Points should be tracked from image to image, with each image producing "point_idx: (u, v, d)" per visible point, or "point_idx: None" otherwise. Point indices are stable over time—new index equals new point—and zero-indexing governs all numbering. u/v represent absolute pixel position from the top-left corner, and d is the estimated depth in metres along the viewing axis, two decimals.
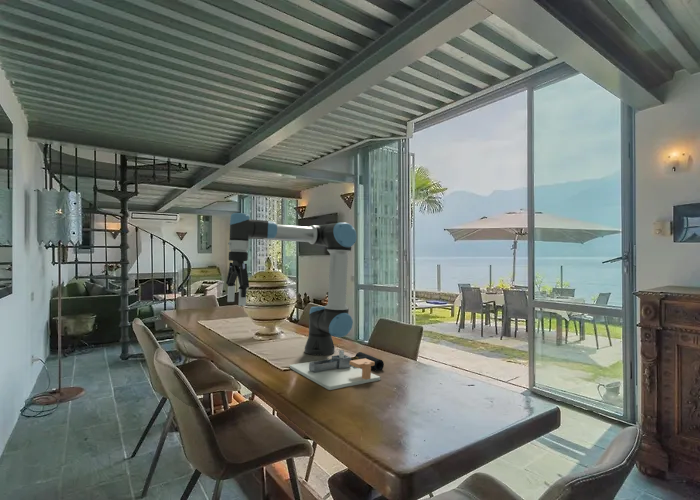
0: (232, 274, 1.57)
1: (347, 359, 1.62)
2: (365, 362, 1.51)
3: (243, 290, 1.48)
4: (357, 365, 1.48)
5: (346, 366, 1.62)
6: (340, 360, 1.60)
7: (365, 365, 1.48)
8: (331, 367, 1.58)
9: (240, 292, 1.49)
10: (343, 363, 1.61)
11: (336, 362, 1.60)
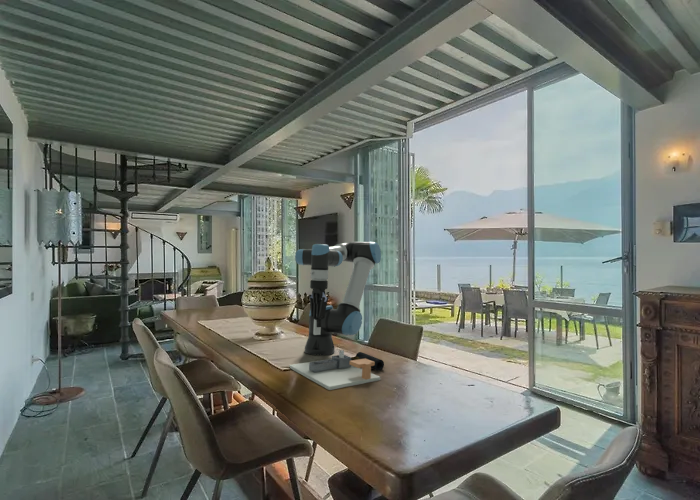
0: (315, 302, 1.66)
1: (347, 359, 1.62)
2: (365, 362, 1.51)
3: (319, 321, 1.64)
4: (357, 365, 1.48)
5: (346, 366, 1.62)
6: (340, 360, 1.60)
7: (365, 365, 1.48)
8: (331, 367, 1.58)
9: (316, 322, 1.64)
10: (343, 363, 1.61)
11: (336, 362, 1.60)
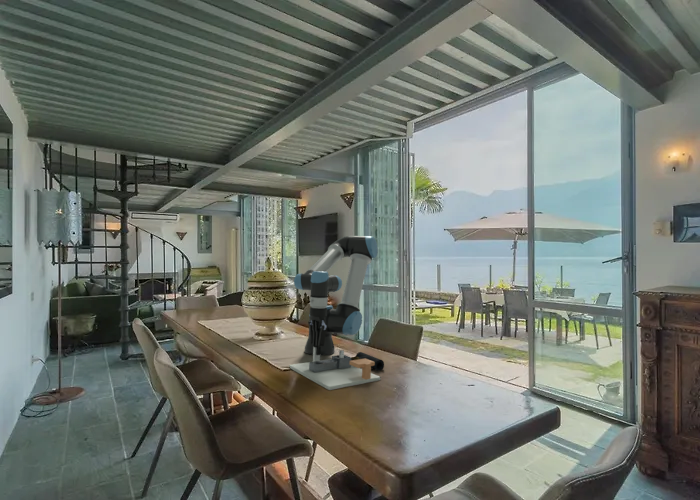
0: (315, 330, 1.65)
1: (347, 359, 1.62)
2: (365, 362, 1.51)
3: (318, 348, 1.63)
4: (357, 365, 1.48)
5: (346, 366, 1.62)
6: (340, 360, 1.60)
7: (365, 365, 1.48)
8: (331, 367, 1.58)
9: (315, 350, 1.64)
10: (343, 363, 1.61)
11: (336, 362, 1.60)
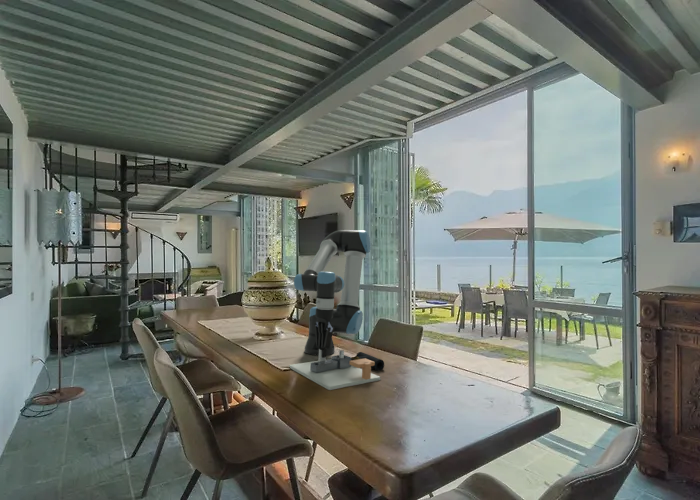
0: (320, 332, 1.61)
1: (347, 359, 1.62)
2: (365, 362, 1.51)
3: (324, 351, 1.59)
4: (357, 365, 1.48)
5: (346, 366, 1.62)
6: (341, 360, 1.60)
7: (365, 365, 1.48)
8: (332, 367, 1.58)
9: (321, 352, 1.60)
10: (344, 363, 1.61)
11: (337, 362, 1.60)
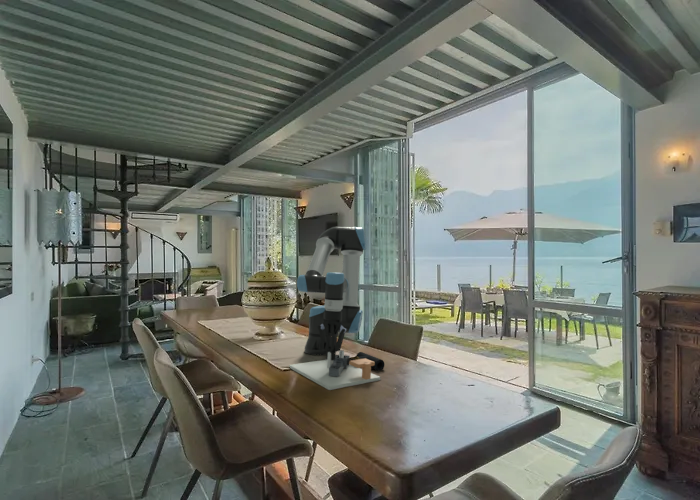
0: (329, 334, 1.56)
1: (348, 358, 1.64)
2: (365, 362, 1.51)
3: (334, 353, 1.56)
4: (357, 365, 1.48)
5: (348, 365, 1.64)
6: (347, 360, 1.61)
7: (365, 365, 1.48)
8: (342, 368, 1.57)
9: (330, 355, 1.55)
10: (347, 362, 1.62)
11: (344, 362, 1.60)
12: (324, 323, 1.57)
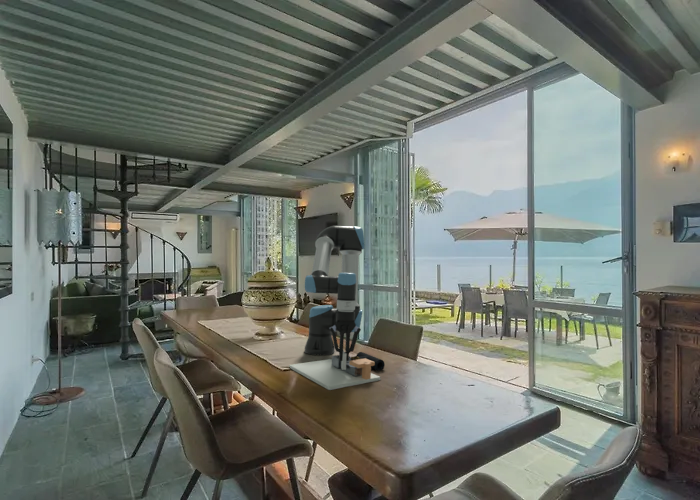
0: (343, 335, 1.55)
1: None
2: (365, 362, 1.51)
3: (348, 354, 1.56)
4: (357, 365, 1.48)
5: None
6: None
7: (365, 365, 1.48)
8: None
9: (346, 356, 1.55)
10: None
11: None
12: (338, 325, 1.54)
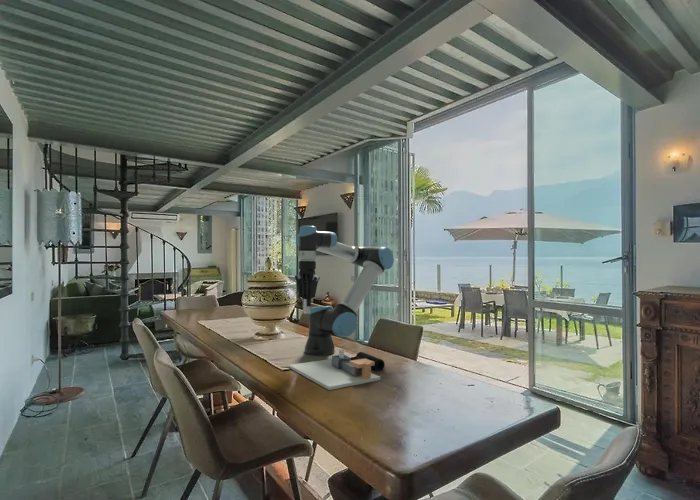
0: (304, 283, 1.70)
1: None
2: (365, 362, 1.51)
3: (309, 300, 1.69)
4: (357, 365, 1.48)
5: None
6: None
7: (365, 365, 1.48)
8: None
9: (306, 302, 1.69)
10: None
11: None
12: (300, 273, 1.71)
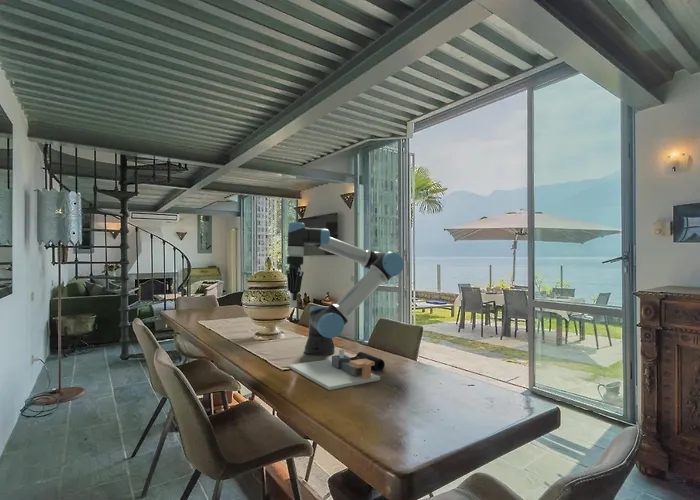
0: (292, 277, 1.76)
1: None
2: (365, 362, 1.51)
3: (295, 294, 1.74)
4: (357, 365, 1.48)
5: None
6: None
7: (365, 365, 1.48)
8: None
9: (292, 296, 1.75)
10: None
11: None
12: (289, 268, 1.78)
